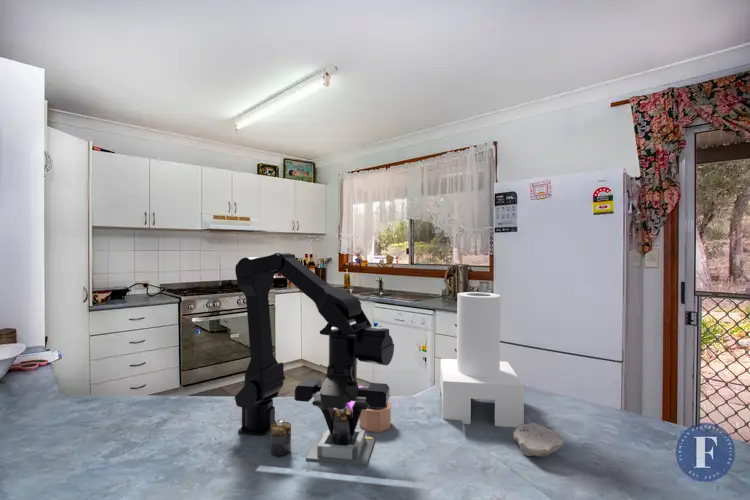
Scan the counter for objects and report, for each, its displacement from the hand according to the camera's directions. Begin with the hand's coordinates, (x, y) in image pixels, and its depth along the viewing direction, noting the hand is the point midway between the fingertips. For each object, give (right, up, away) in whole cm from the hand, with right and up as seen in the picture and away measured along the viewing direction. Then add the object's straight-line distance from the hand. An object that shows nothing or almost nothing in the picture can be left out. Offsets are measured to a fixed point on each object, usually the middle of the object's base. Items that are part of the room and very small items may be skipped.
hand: (342, 433), depth 78 cm
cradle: (0, -4, 0) cm, 4 cm away
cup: (+7, -4, +11) cm, 14 cm away
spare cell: (-12, -4, -1) cm, 13 cm away
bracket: (+2, -4, +24) cm, 24 cm away
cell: (0, -2, 0) cm, 2 cm away
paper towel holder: (+34, -4, +22) cm, 41 cm away
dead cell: (+7, -3, +11) cm, 13 cm away
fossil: (+41, -5, +1) cm, 41 cm away
